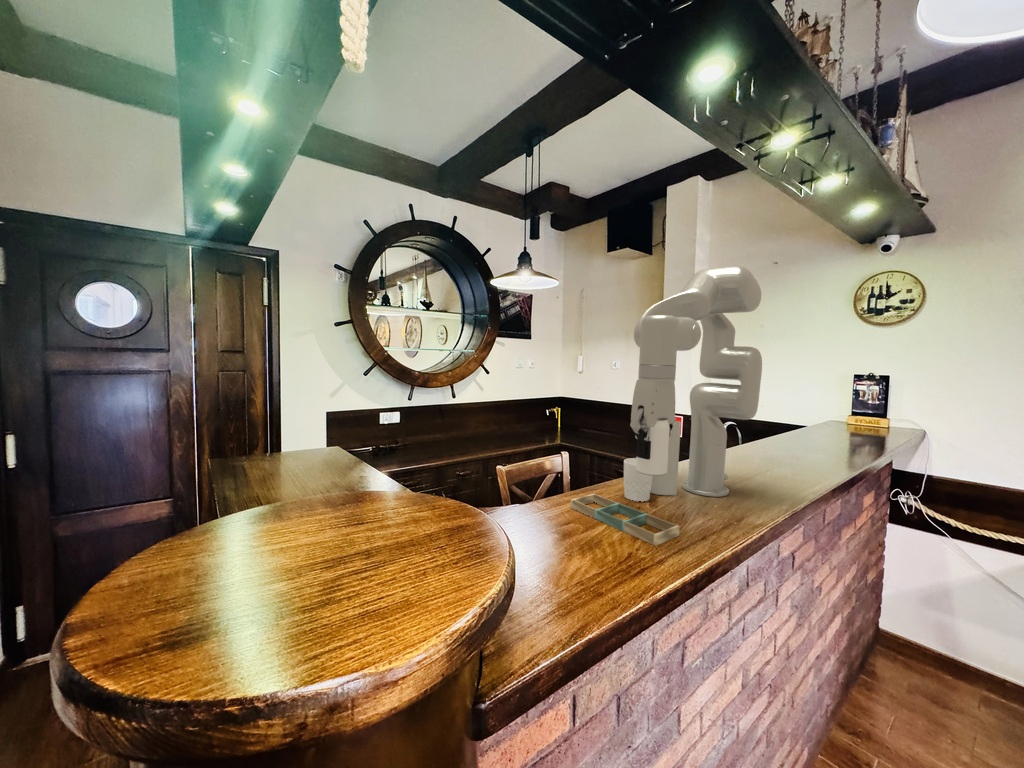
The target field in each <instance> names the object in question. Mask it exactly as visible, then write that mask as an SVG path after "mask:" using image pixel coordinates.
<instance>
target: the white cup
mask: <svg viewBox="0 0 1024 768" xmlns="http://www.w3.org/2000/svg"><path fill="white" fill-rule="evenodd" d="M652 478H653V476H650V475H645V474H642V473H639V472H638V471H637V469H636V457H633V458H626V459H623V487H624V488H623V489H624V490H623V494H624V495H623V497H624V498H625V499H626V500H629V499H630V501H632V500H633V501H632V502H639V501H641V502H644V501H645V502H648V501H650V498H651V493H650V490H651V486H652ZM641 502H640V503H641Z"/></svg>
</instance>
